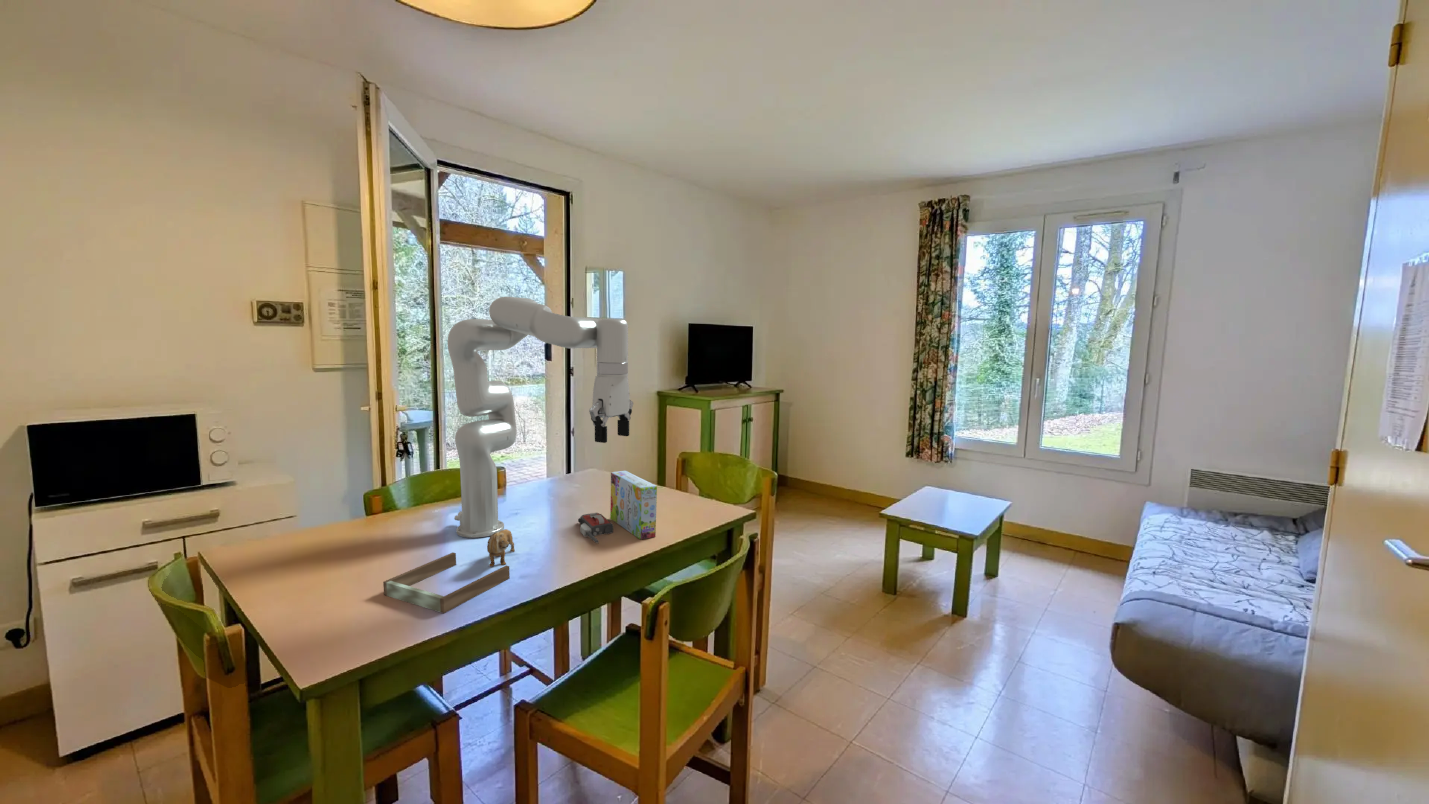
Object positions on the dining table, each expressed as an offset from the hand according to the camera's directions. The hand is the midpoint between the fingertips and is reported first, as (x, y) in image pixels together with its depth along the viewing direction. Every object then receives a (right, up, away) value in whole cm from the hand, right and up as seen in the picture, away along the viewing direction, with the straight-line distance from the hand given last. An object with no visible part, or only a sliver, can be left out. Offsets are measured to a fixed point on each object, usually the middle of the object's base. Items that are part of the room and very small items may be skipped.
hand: (612, 438), depth 137 cm
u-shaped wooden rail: (-34, -32, -13) cm, 49 cm away
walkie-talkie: (-9, -29, +23) cm, 38 cm away
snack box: (+1, -28, +27) cm, 39 cm away
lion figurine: (-28, -31, +2) cm, 42 cm away
